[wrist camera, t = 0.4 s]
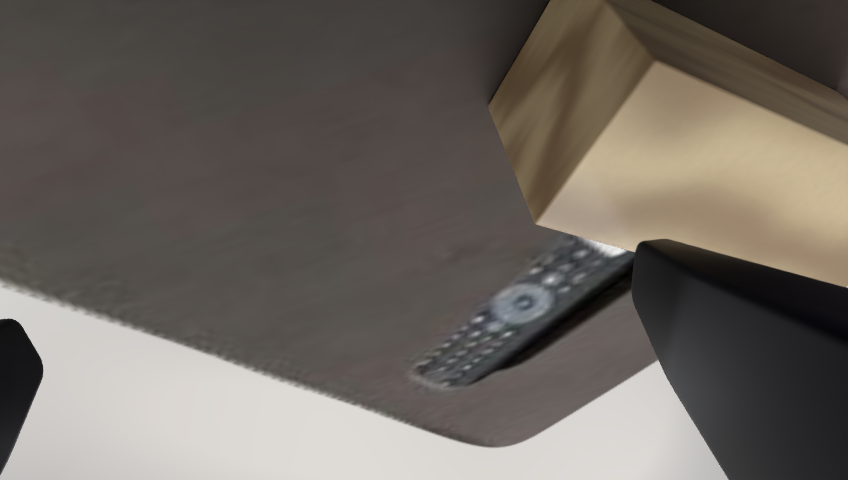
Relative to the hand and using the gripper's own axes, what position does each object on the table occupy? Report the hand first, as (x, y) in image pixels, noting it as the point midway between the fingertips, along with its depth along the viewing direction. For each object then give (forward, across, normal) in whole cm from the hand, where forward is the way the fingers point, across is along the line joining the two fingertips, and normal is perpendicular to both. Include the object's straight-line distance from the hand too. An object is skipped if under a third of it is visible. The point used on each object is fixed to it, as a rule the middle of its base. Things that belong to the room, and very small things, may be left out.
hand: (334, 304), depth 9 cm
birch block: (+17, +12, -4) cm, 21 cm away
